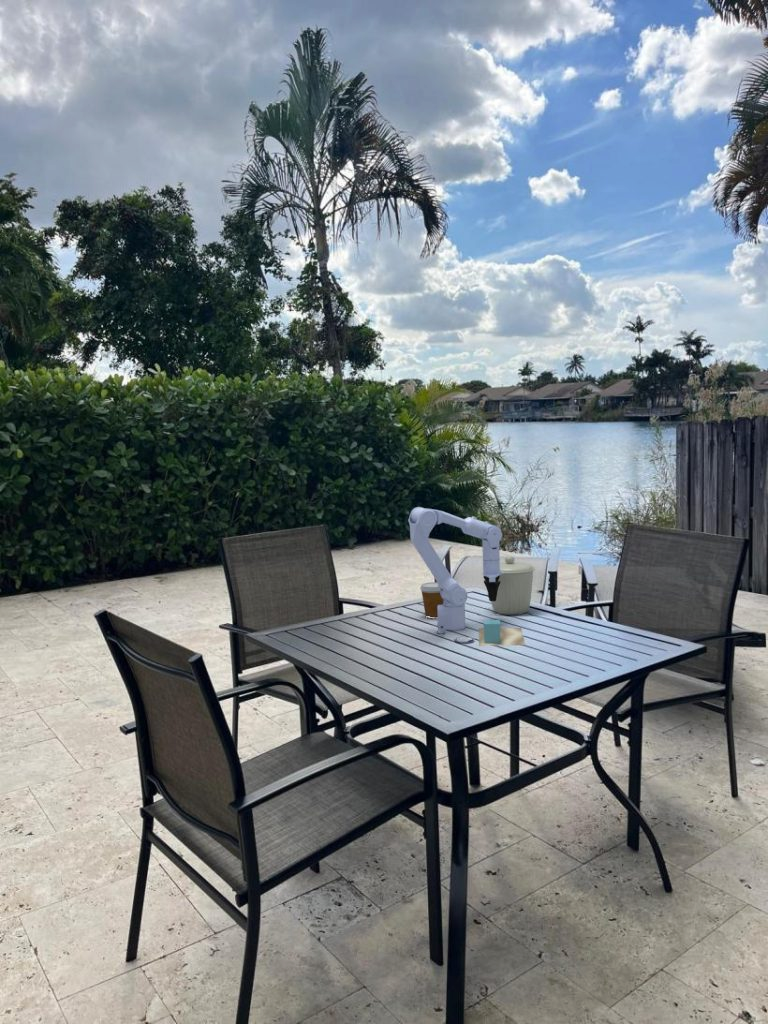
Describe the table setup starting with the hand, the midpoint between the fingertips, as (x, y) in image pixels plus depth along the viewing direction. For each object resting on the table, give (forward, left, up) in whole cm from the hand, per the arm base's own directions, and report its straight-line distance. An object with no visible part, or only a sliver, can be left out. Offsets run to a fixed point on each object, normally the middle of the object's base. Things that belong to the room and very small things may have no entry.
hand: (492, 598), depth 250 cm
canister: (+7, +19, -10) cm, 22 cm away
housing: (-1, -23, -8) cm, 24 cm away
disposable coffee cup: (-21, +13, -10) cm, 26 cm away
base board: (+2, -18, -9) cm, 20 cm away
